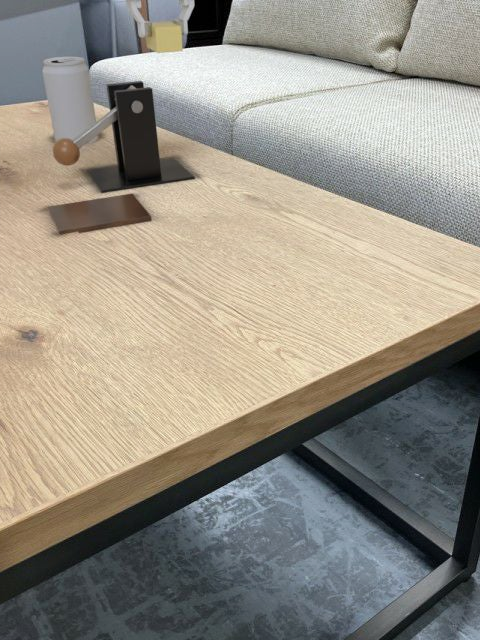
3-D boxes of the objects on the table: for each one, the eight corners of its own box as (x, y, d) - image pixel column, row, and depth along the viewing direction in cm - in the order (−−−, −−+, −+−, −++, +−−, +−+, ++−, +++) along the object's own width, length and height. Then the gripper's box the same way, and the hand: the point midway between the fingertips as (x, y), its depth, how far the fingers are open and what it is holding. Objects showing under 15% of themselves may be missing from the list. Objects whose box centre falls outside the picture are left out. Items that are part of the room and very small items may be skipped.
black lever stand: (102, 200, 86) (86, 99, 79) (87, 178, 93) (71, 84, 86) (195, 185, 90) (188, 88, 83) (174, 166, 97) (165, 75, 90)
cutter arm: (67, 174, 85) (49, 152, 83) (62, 166, 88) (44, 146, 86) (151, 108, 86) (135, 86, 83) (144, 103, 88) (128, 81, 86)
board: (61, 244, 75) (58, 230, 74) (49, 219, 81) (46, 206, 80) (152, 228, 78) (150, 215, 77) (133, 205, 84) (132, 193, 83)
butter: (157, 53, 91) (155, 27, 90) (146, 47, 95) (144, 22, 93) (182, 51, 93) (181, 26, 91) (171, 45, 96) (169, 21, 95)
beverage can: (49, 144, 106) (32, 58, 99) (87, 136, 110) (74, 53, 103) (67, 153, 102) (52, 65, 95) (107, 145, 105) (94, 59, 99)
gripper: (223, -90, 91) (227, 28, 99) (64, -90, 84) (82, 37, 92) (242, -89, 86) (244, 34, 94) (74, -90, 79) (92, 44, 87)
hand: (163, 35), depth 93 cm, fingers closed on butter, 3 cm apart
